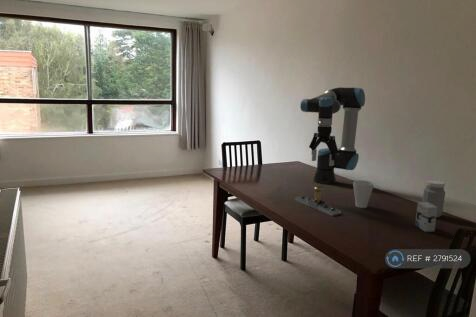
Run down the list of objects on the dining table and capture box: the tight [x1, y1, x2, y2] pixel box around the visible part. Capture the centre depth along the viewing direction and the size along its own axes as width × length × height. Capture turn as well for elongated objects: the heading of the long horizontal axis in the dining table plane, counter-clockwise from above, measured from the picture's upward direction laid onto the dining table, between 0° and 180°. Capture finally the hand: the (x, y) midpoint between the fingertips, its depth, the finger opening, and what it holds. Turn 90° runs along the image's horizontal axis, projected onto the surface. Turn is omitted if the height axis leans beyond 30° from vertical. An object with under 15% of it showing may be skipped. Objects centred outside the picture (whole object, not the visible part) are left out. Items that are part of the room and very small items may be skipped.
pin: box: [313, 185, 323, 205], centre depth 194 cm, size 5×5×11 cm
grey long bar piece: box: [294, 195, 342, 217], centre depth 195 cm, size 29×7×4 cm, turn 32°
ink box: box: [414, 201, 438, 233], centre depth 168 cm, size 8×5×12 cm, turn 5°
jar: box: [421, 179, 446, 219], centre depth 185 cm, size 10×10×18 cm
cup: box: [352, 180, 375, 209], centre depth 197 cm, size 10×10×14 cm
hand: (322, 163), depth 202 cm, fingers open, 13 cm apart
